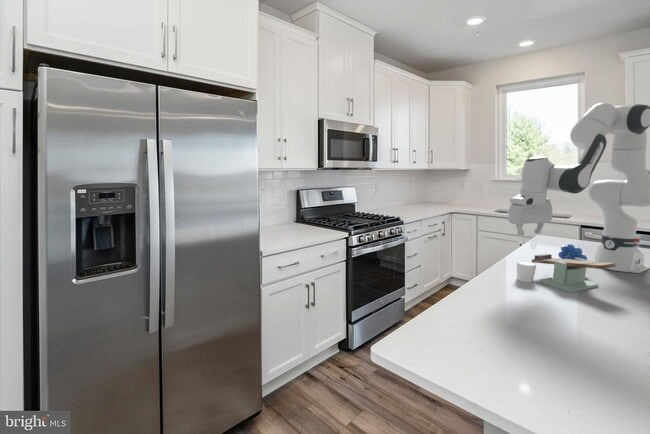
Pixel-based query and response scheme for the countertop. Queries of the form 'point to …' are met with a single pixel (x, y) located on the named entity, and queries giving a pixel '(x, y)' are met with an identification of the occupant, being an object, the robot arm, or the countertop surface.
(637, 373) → the countertop surface
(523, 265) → the white cup
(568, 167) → the robot arm
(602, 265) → the seesaw beam
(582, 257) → the grapes
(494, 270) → the countertop surface
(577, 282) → the pivot stand
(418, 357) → the countertop surface
